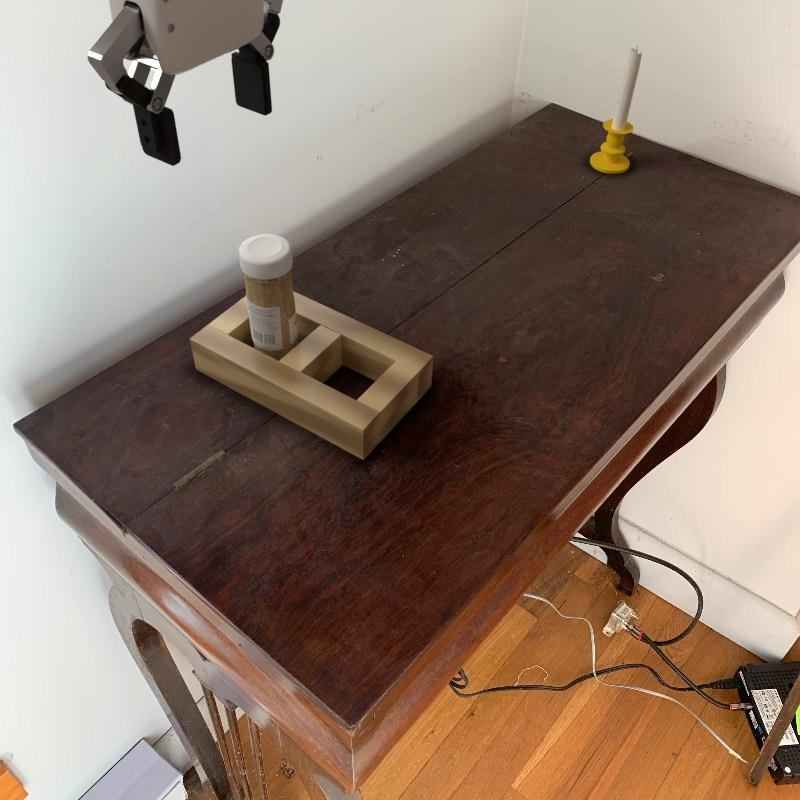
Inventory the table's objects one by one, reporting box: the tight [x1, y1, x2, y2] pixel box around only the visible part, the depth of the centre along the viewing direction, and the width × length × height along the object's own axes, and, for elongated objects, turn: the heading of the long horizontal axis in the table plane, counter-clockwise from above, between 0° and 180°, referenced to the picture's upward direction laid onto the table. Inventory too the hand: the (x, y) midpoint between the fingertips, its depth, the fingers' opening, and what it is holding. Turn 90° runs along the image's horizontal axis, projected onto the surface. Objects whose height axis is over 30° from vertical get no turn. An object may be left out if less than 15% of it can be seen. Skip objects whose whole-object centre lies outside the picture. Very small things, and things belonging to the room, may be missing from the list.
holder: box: [189, 290, 434, 461], centre depth 76 cm, size 11×20×4 cm, turn 56°
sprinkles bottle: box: [238, 233, 299, 361], centre depth 74 cm, size 5×5×13 cm
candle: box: [589, 45, 643, 175], centre depth 102 cm, size 5×5×16 cm
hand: (210, 133), depth 60 cm, fingers open, 9 cm apart
